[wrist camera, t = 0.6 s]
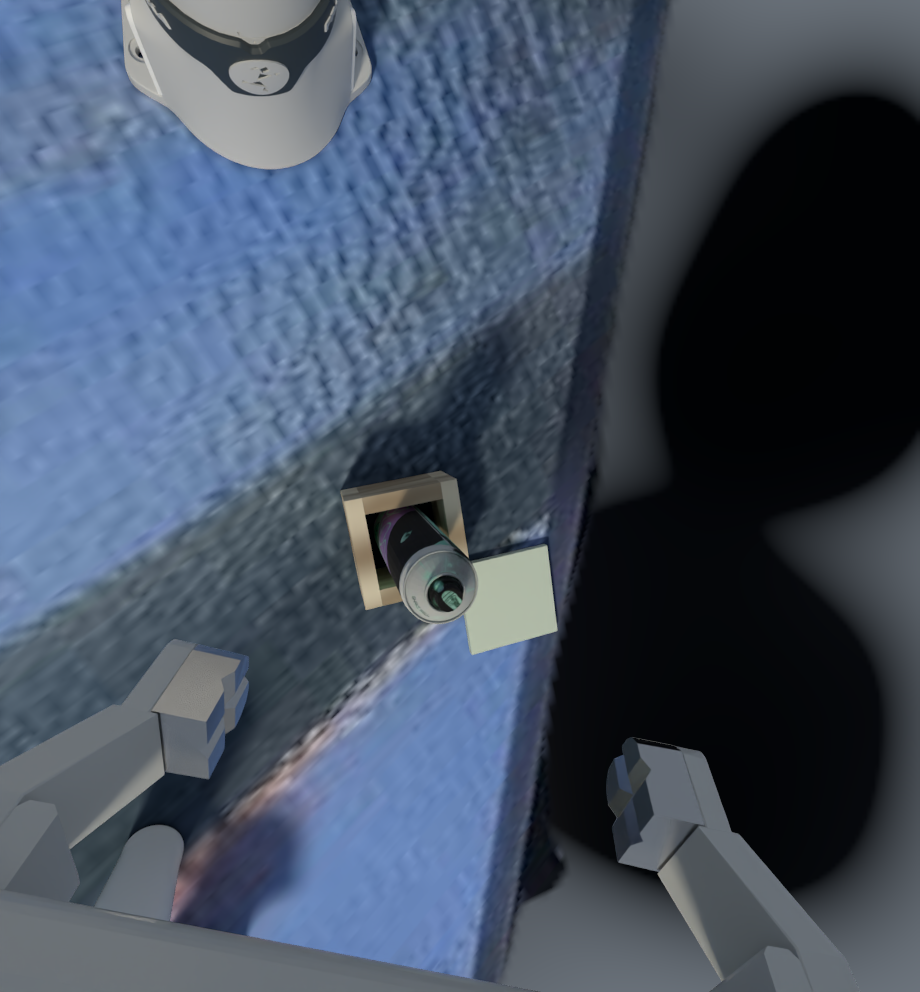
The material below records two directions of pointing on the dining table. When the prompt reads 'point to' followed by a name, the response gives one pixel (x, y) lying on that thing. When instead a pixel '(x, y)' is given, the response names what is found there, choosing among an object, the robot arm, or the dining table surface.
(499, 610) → the sage pad
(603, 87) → the dining table surface
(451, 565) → the spray can
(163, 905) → the drinking glass
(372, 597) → the can holder
